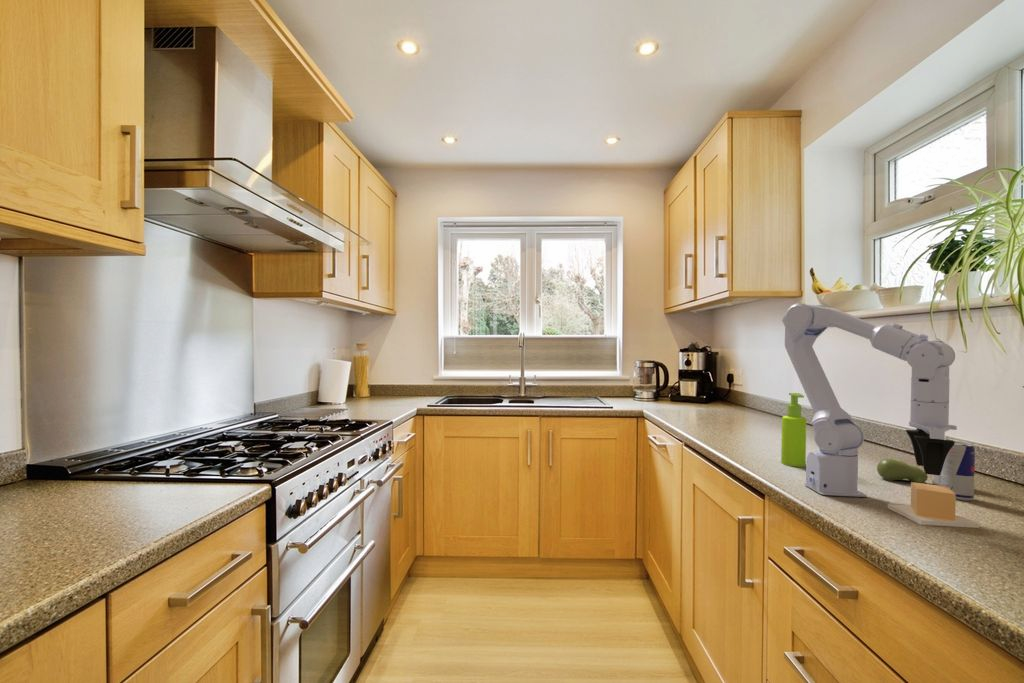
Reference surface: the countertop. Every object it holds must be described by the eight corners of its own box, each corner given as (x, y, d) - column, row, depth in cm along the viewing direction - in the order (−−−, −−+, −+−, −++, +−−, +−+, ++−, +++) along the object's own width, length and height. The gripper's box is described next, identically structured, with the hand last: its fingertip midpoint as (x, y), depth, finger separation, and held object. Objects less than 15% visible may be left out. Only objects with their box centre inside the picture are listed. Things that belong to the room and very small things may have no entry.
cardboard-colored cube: (916, 514, 92) (916, 488, 92) (910, 506, 97) (910, 482, 97) (955, 520, 89) (955, 494, 89) (947, 512, 94) (947, 486, 94)
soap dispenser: (787, 467, 131) (788, 394, 131) (777, 461, 138) (779, 391, 138) (811, 468, 130) (812, 394, 130) (800, 462, 137) (801, 392, 137)
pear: (876, 454, 124) (922, 465, 120) (871, 474, 124) (918, 485, 120) (884, 458, 118) (933, 470, 115) (880, 479, 118) (929, 491, 115)
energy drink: (980, 502, 103) (981, 446, 103) (951, 500, 104) (952, 445, 104) (962, 494, 109) (963, 441, 109) (935, 492, 110) (936, 440, 110)
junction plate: (920, 524, 89) (921, 501, 89) (888, 508, 98) (888, 487, 98) (979, 527, 88) (979, 504, 88) (940, 510, 97) (941, 489, 97)
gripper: (967, 407, 86) (965, 482, 86) (946, 399, 99) (945, 465, 99) (916, 403, 90) (915, 475, 90) (903, 397, 102) (901, 460, 102)
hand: (928, 470), depth 95 cm, fingers open, 7 cm apart
